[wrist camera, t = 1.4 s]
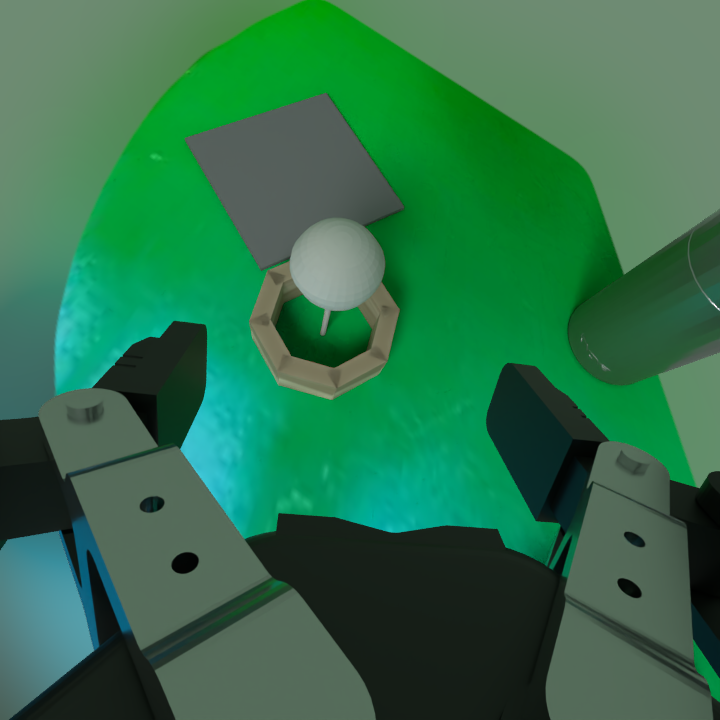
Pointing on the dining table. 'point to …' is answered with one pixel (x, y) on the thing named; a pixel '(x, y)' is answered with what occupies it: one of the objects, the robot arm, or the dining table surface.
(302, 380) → the octagonal ring
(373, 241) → the lollipop
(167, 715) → the robot arm
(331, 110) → the mat
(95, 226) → the dining table surface
